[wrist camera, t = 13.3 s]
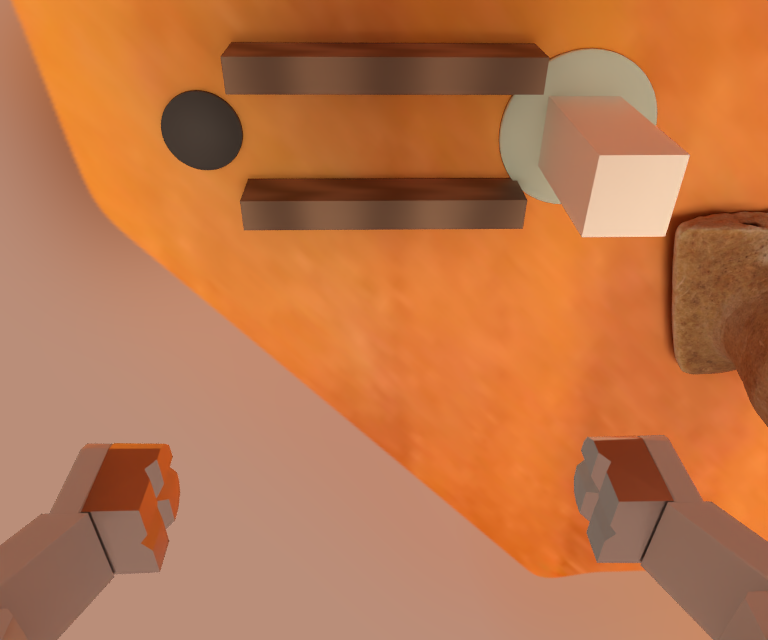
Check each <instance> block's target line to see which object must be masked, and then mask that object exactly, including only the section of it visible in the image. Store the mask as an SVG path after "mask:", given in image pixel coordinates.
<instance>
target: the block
mask: <svg viewBox="0 0 768 640" xmlns="http://www.w3.org/2000/svg"><path fill="white" fill-rule="evenodd" d="M689 157H690V155H689V154H688V153H687V152H686V151H685V150H684V149H682V148H681V147H680V146H679V145H678V144H676V143H675V142H674V141H673V140H672V139H671V138H669V137H668V136H667V135H666V134H665V133H664V132H662V131H661V130H660V129H659V128H658V127H656V126H655V125H654V124H653V123H652V122H651V121H649V120H648V119H647V118H646V117H645V116H643V115H642V114H641V113H640V112H639V111H638V110H636V109H635V108H634V107H633V106H632V105H631V104H629V103H628V102H627V101H626V100H625V99H623V98H622V97H621V96H549V99H548V105H547V112H546V118H545V124H544V130H543V137H542V143H541V149H540V156H539V162H538V167H539V168H540V170H541V171H542V173H543V175H544V176H545V178H546V180H547V181H548V183H549V184H550V186H551V188H552V189H553V191H554V193H555V194H556V196H557V197H558V199H559V201H560V202H561V204H562V206H563V207H564V209H565V211H566V212H567V214H568V215H569V217H570V219H571V220H572V222H573V224H574V225H575V227H576V228H577V230H578V232H579V233H580V235H581V237H655V236H665V235H666V232H667V229H668V225H669V222H670V219H671V216H672V212H673V209H674V206H675V202H676V199H677V196H678V193H679V189H680V186H681V183H682V179H683V176H684V173H685V170H686V166H687V163H688V160H689Z"/></svg>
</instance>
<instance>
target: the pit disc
mask: <svg viewBox="0 0 768 640" xmlns="http://www.w3.org/2000/svg"><path fill="white" fill-rule="evenodd" d="M161 130H162V135H163V138H164V141H165V143H166V145H167V147H168V148H169V150H170V151H171V152H172V153H173V155H174V156H175V157H176V158H178V159H179V160H180V161H181V162H183V163H185V164H186V165H188V166H191V167H193V168H196V169H201V170H214V169H219V168H222V167H224V166H226V165H227V164H229V163H230V162H231V161H232V160H233V159H234V158H235V157H236V156H237V154H238V152H239V150H240V147H241V144H242V137H243V134H242V127H241V123H240V120H239V118H238V116H237V114H236V113H235V111H234V110H233V109H232V107H231V106H230V105H229V104H228V103H227V102H226V101H224V100H223V99H222V98H220V97H218V96H216V95H214V94H212V93H209V92H205V91H197V90H195V91H187V92H184V93H181V94H179V95H178V96H176V97H175V98H173V99H172V100H171V101H170V102H169V104H168V105H167V106H166V108H165V110H164V112H163V115H162V119H161Z"/></svg>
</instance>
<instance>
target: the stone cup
mask: <svg viewBox="0 0 768 640" xmlns="http://www.w3.org/2000/svg"><path fill="white" fill-rule="evenodd" d="M672 332H673V345H674V353H675V358H676V361H677V363H678V365H679V367H680V368H681V370H682V371H683V372H686V373H689V374H712V373H722V372H728V371H733V370H737V372H738V374H739V376H740V378H741V379H742V381H743V384H744V387H745V389H746V392H747V395H748V397H749V400H750V402H751V404H752V406H753V407H754V409H755V411H756V412H757V414H758V415H759V416H760V417H761V419H762V420H763V421H764V423H765V424H766V425H767V427H768V213H763V212H738V213H734V214H729V213H721V214H711V215H708V216H705V217H702V216H699V217H697V218H694V219H691V220H688V221H685V222H683V223H681V224H680V225H679V226H678V228H677V230H676V232H675V240H674V256H673V268H672Z"/></svg>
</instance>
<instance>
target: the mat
mask: <svg viewBox="0 0 768 640" xmlns="http://www.w3.org/2000/svg"><path fill="white" fill-rule="evenodd" d="M549 96H621V97H622V98H623V99H625V100H626V101H627V102H628V103H629V104H631V105H632V106H633V107H634V108H635V109H636V110H638V111H639V112H640V113H641V114H642V115H643V116H645V117H646V118H647V119H648V120H649V121H651V122H652V123H653V124H654V125H655V126H656V123H657V102H656V98H655V93H654V90H653V88H652V85H651V83H650V81H649V79H648V78H647V76H646V75H645V73H644V72H643V71H642V70H641V69H640V68H639V67H638V66H637V65H636V64H635V63H634V62H632V61H631V60H629V59H628V58H626V57H624V56H623V55H620V54H618V53H616V52H613V51H609V50H605V49H595V48H588V49H578V50H574V51H569V52H566V53H563V54H560V55H558V56H556V57H554V58H552V59H550V60H549V64H548V70H547V76H546V83H545V89H544V95H512V97H511V98H510V100H509V102H508V104H507V106H506V109H505V111H504V114H503V117H502V120H501V126H500V132H499V146H500V153H501V158H502V161H503V163H504V166H505V168H506V170H507V172H508V174H509V176H510V177H511V179H512V180H513V181H518V183H519V185H520V187H521V189H522V191H524V192H525V193H527V194H528V195H530V196H532V197H534V198H536V199H538V200H541V201H544V202H548V203H554V204H561V202H560V201H559V199H558V197H557V196H556V194H555V193H554V191H553V189H552V188H551V186H550V184H549V183H548V181H547V180H546V178H545V176H544V175H543V173H542V171H541V170H540V168H539V167H538V162H539V156H540V149H541V143H542V137H543V130H544V124H545V118H546V112H547V105H548V99H549Z"/></svg>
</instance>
